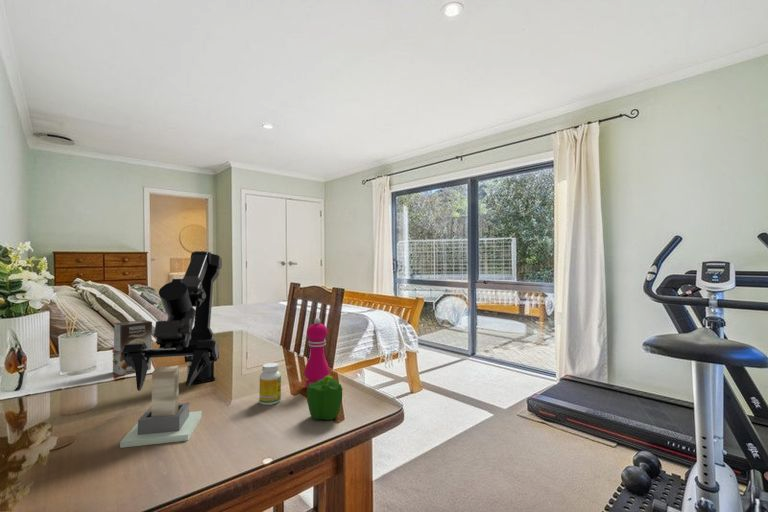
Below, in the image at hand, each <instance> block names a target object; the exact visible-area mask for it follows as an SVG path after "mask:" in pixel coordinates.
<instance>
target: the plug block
mask: <svg viewBox="0 0 768 512" xmlns="http://www.w3.org/2000/svg"><path fill="white" fill-rule="evenodd" d="M179 367H180V365H172V366H171V365H170V366H158V367H157V368H155V369H154V370H153V371H152V372H151V406H152V415H151V417H158V416H169V415H176V414H177V412H178V403H179V385H180V384H179V383H180V382H179V377H180V376H179V374H180V373H179V372H180V371H179V370H180V368H179Z"/></svg>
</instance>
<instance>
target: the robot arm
mask: <svg viewBox="0 0 768 512" xmlns="http://www.w3.org/2000/svg"><path fill="white" fill-rule="evenodd" d="M222 266H223V259H222V258H221V256H220V255H218V254H214V253H212V252H211V251H208V250H207V251H205V250H203V251H202V250H201V251H199V250H197V251H196V250H195V251H192V252H191V254H190V262H189V264H188V267H187V268H186V271H185V273H184V276H183V278H172V279H171V282H170V281H169V282H168V283H166V284H163V286H161V287H160V288H159V290H158V295H159V299H160V301H161V304H162V306H163V310H164V312H165V313H166V314H168V316H167V318H166V319H167V320H157V321H156V322H155V325H154V332H153V337H154V338H156V341H155V343H156V345H159V347H151V348H147V346H146V344H145V343H128V344H126V345H125V346H123V348H122V351H121V353H120V354H121V356H122V357H123V359H124V361H125V363H126V364H127V366H130V367H132V368H133V369H135V372H134V373H135V383H136V390H137V391H139V392H140V391H142V388H143V386H144V383H145V380H146V377H147V373H148V370H149V369H148V365H147V363H148V362H149V359H150V358H151V359H152V358H153V359H154V358H173V357H175V358H176V357H184V363H189V365H187V370H186V373H187V377H186V382H185V387H186V388H189V387H190V386H191V384H192V385H196V383H197V384H200V383H201V382H202V383H206V382H205V381H207V382H212V381H216V380H217V379H216V377H215V362H218V360H219V359H220V350H219V348H220V347H219V345H218V343H217V340H216V336H215V333H214V332H213V330H212V329H211V319H212V306H213V305H212V304H213V291H214V282H215V281H217V278H218V277H219V276H220V271H221V269H222ZM215 379H216V380H215ZM211 380H212V381H211Z"/></svg>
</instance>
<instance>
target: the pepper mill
mask: <svg viewBox="0 0 768 512" xmlns="http://www.w3.org/2000/svg"><path fill="white" fill-rule="evenodd" d="M313 322H314V323H313V324H312V323H311V325H309V326H308V328H307V330H306V336H307V338H308V339H309V340H308V346H309V351H310V352H309V353H310V354H309V358H308V360H307V362H306V365H305V366H304V373H303V374H304V376H305V378H306V379H307V380H306V381H305V388H306V389H307V387H308V384H309V383H313V382H317V381H319V380H321V379H324V377H325V376H327V375H329V376H330V367H329V363H328V361H327V359H326V356H325V346H326V344H327V343H326V342H327V340H326V337H327V336H328V331H329V330H328V328H327V326H326V325H325V324H323V323H321V319H320V318H319V317H317V318H314V321H313Z"/></svg>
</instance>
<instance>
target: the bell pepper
mask: <svg viewBox="0 0 768 512" xmlns="http://www.w3.org/2000/svg"><path fill="white" fill-rule="evenodd" d="M342 399H343V386H342V384H340V383H339V381H338V380H337V379H334V377H333V376H332V375H330V374H329V375H327V376H325V377H324V379H321V380H319V381H317V382H313V383H309V384H308V387H307V388H306V400H307V401H306V402H307V405H308V411H309V414H310V416H311V417H312V419H314V420H324V421H325V420H326V421H330V420H335V418H337V416H338V415H339V413H340V410H341V406H342Z"/></svg>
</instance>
